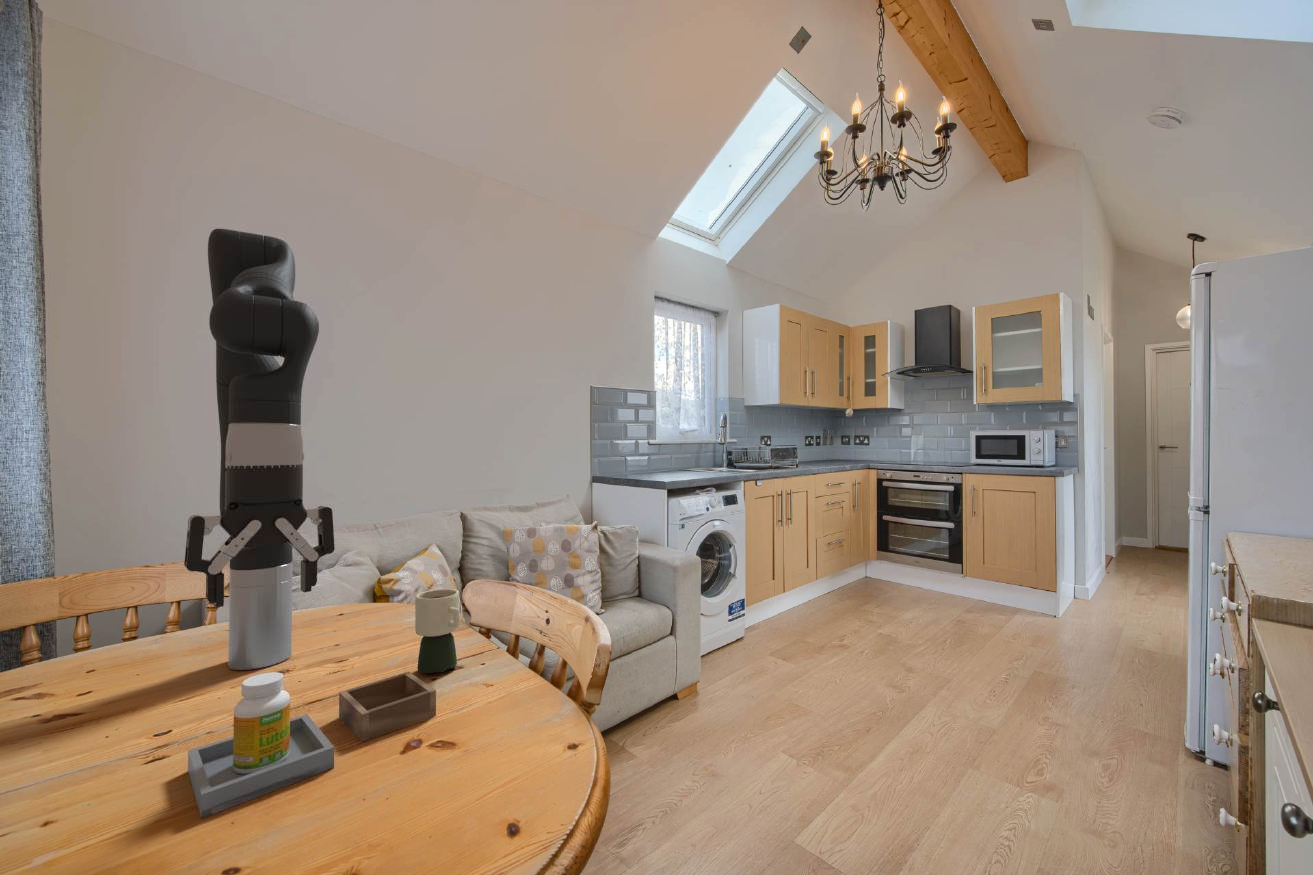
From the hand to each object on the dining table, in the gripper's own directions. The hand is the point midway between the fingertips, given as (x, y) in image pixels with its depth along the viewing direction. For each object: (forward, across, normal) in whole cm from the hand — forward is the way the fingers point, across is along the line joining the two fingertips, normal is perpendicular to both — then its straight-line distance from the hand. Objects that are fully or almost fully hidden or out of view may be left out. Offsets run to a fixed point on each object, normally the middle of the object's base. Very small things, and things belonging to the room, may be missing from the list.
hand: (264, 598), depth 64 cm
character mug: (+20, -27, -13) cm, 36 cm away
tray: (+20, 0, 0) cm, 20 cm away
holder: (+20, -15, -2) cm, 25 cm away
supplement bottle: (+19, 0, 0) cm, 19 cm away
